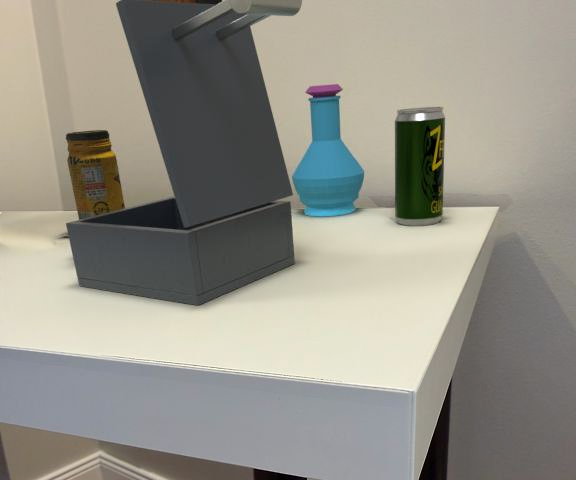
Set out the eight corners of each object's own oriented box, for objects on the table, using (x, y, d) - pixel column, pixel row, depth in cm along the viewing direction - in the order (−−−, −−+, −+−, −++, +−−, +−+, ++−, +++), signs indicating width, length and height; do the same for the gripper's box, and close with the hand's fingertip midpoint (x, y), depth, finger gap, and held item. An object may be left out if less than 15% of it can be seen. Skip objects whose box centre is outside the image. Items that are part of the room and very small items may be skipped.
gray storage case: (78, 286, 61) (65, 222, 58) (181, 251, 70) (173, 196, 68) (198, 305, 52) (188, 232, 50) (295, 263, 62) (290, 201, 60)
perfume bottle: (329, 202, 91) (323, 84, 85) (380, 207, 85) (378, 80, 79) (280, 214, 86) (270, 89, 80) (330, 221, 79) (324, 85, 73)
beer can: (390, 226, 74) (389, 111, 69) (400, 216, 79) (400, 108, 74) (438, 226, 72) (440, 108, 67) (446, 216, 77) (449, 105, 72)
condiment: (139, 222, 89) (123, 127, 84) (113, 236, 81) (93, 133, 76) (90, 224, 90) (71, 131, 85) (59, 238, 83) (37, 137, 78)
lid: (114, 3, 46) (202, -54, 40) (238, 9, 55) (322, -36, 50) (183, 228, 50) (271, 205, 44) (286, 197, 60) (368, 175, 54)
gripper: (14, -263, 56) (71, 37, 65) (202, -372, 44) (238, 10, 54) (84, -235, 61) (126, 37, 71) (267, -327, 50) (289, 13, 59)
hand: (174, 25), depth 62 cm, fingers closed on disposable coffee cup, 8 cm apart
